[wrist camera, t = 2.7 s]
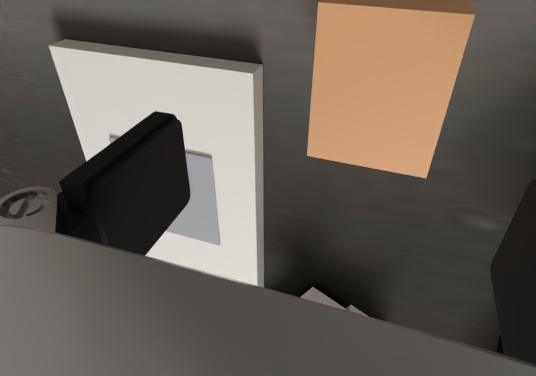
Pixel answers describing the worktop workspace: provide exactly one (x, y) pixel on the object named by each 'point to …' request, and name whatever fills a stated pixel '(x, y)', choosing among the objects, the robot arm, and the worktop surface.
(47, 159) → the worktop surface
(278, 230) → the worktop surface
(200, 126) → the plate
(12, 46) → the worktop surface
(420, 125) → the block
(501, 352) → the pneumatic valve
